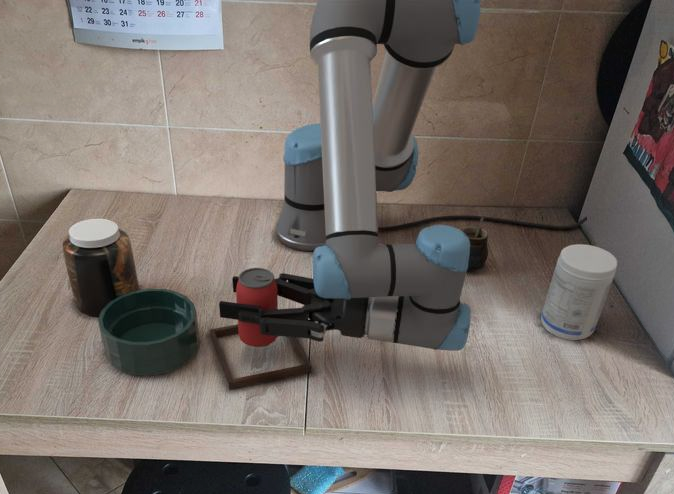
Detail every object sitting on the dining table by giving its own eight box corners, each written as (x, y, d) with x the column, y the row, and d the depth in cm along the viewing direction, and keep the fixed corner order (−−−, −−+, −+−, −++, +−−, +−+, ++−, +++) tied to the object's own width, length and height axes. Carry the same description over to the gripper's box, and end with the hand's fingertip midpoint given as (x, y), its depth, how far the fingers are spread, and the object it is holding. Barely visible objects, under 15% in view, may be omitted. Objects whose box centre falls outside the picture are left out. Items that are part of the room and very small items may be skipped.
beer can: (272, 351, 106) (271, 291, 98) (234, 346, 107) (230, 285, 99) (282, 328, 111) (281, 268, 103) (244, 322, 112) (241, 263, 104)
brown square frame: (285, 322, 118) (285, 315, 117) (311, 372, 107) (311, 366, 106) (209, 336, 115) (209, 329, 114) (229, 389, 104) (228, 383, 103)
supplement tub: (567, 306, 124) (590, 238, 115) (605, 334, 117) (632, 264, 108) (528, 318, 121) (548, 249, 111) (564, 347, 114) (589, 277, 105)
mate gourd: (446, 271, 133) (454, 227, 127) (453, 254, 138) (461, 211, 132) (481, 279, 131) (491, 235, 125) (487, 261, 136) (497, 218, 130)
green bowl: (190, 314, 120) (186, 282, 115) (207, 367, 108) (204, 334, 104) (102, 329, 115) (94, 297, 111) (110, 386, 104) (103, 352, 99)
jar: (83, 324, 116) (65, 252, 107) (70, 292, 124) (52, 221, 115) (147, 308, 121) (136, 236, 111) (130, 277, 129) (118, 208, 119)
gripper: (357, 373, 97) (209, 351, 100) (373, 300, 111) (244, 283, 115) (361, 333, 92) (206, 312, 95) (377, 262, 107) (242, 246, 110)
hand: (227, 296), depth 105 cm, fingers closed on beer can, 7 cm apart
